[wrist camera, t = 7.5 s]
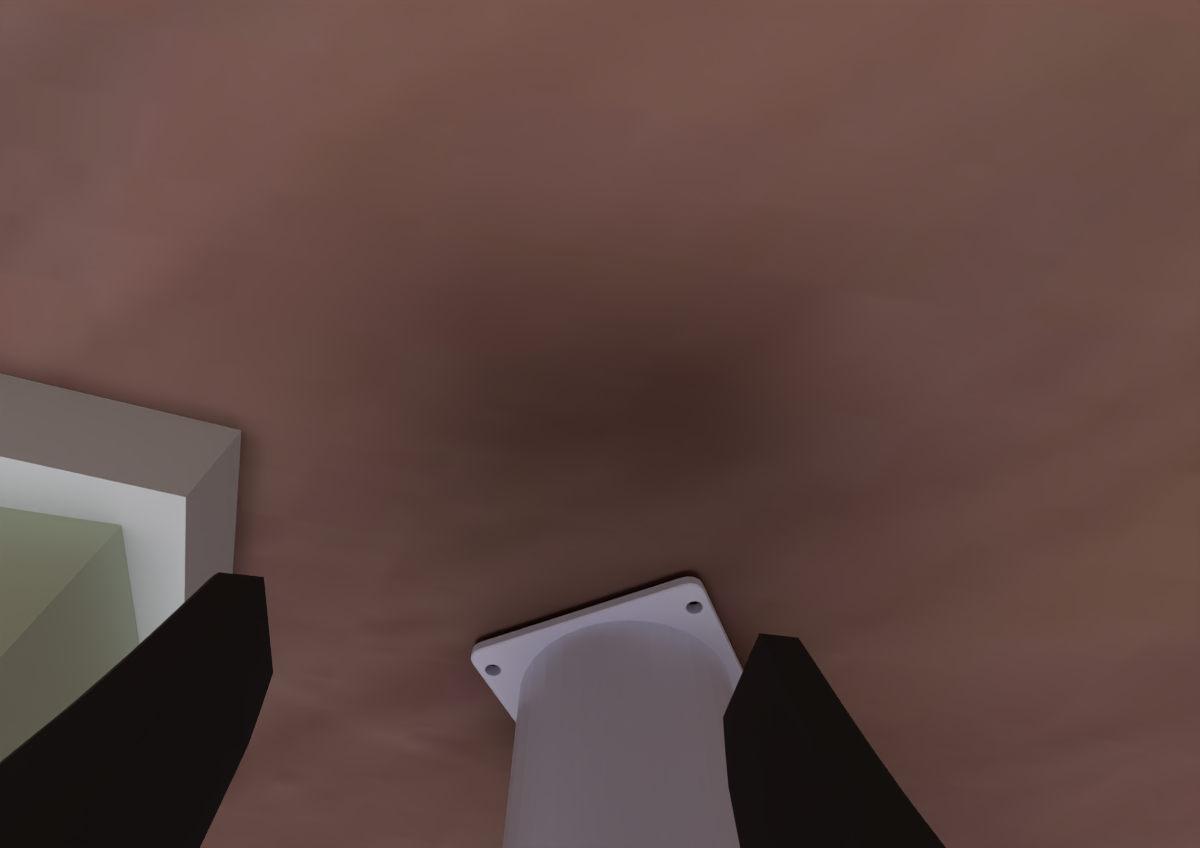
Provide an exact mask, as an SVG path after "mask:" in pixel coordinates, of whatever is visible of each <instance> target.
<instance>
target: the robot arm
mask: <svg viewBox="0 0 1200 848" xmlns="http://www.w3.org/2000/svg"><path fill="white" fill-rule="evenodd" d="M693 601H697V602H699V603H697V604H694V605H690V604H688V603H690V602H693ZM471 661H472V663H473V665H474V666H475V668H476V669H477V670H478V672H479V673H480V674H481V676H482V677H483V679H484V680H485V681H486V683H487V684H488V685H489V687H490V688H491V689H492V691H493V692H494V694H495V695H496V696H497V698H498V699H499V700H500V702H501V703H502V705H503V706H504V707H505V709H506V710H507V711H508V713H509V714H510V716H511V717H512V718H513V720H514V721H515V722H516V729H515V738H514V747H513V756H512V765H511V774H510V783H509V792H508V801H507V810H506V819H505V829H504V838H503V847H502V848H946V847H945V846H944V845H943V843H942V842H941V841H940V840H939V838H938V837H937V836H936V834H935V833H934V832H933V831H932V829H931V828H930V827H929V825H928V824H927V823H926V822H925V820H924V819H923V818H922V816H921V815H920V814H919V812H918V811H917V810H916V808H915V807H914V806H913V804H912V803H911V802H910V800H909V799H908V798H907V796H906V795H905V794H904V792H903V791H902V789H901V788H900V787H899V785H898V784H897V782H896V781H895V780H894V778H893V777H892V775H891V774H890V773H889V771H888V770H887V768H886V767H885V766H884V764H883V763H882V761H881V760H880V759H879V757H878V756H877V754H876V753H875V751H874V750H873V749H872V747H871V746H870V744H869V743H868V741H867V740H866V739H865V737H864V736H863V734H862V733H861V731H860V730H859V728H858V727H857V725H856V724H855V722H854V721H853V719H852V718H851V716H850V715H849V713H848V712H847V710H846V709H845V707H844V706H843V705H842V703H841V702H840V700H839V699H838V697H837V695H836V694H835V692H834V691H833V689H832V688H831V686H830V685H829V683H828V682H827V680H826V679H825V677H824V676H823V674H822V673H821V671H820V670H819V668H818V667H817V665H816V664H815V662H814V661H813V659H812V658H811V656H810V655H809V653H808V652H807V650H806V649H805V647H804V646H803V644H802V643H801V641H800V640H799V638H795V637H786V636H778V635H769V634H760V633H759V635H758V638H757V640H756V642H755V645H754V647H753V649H752V651H751V654H750V656H749V658H748V661H747V663H746V665H745V667H744V670H743V669H742V667H741V664H740V662H739V660H738V658H737V656H736V654H735V652H734V649H733V647H732V645H731V643H730V641H729V639H728V637H727V634H726V632H725V630H724V628H723V626H722V624H721V622H720V619H719V617H718V615H717V613H716V611H715V609H714V607H713V604H712V602H711V600H710V598H709V596H708V594H707V592H706V590H705V587H704V585H703V583H702V582H701V581H700V580H699V579H697V578H695V577H690V576H687V577H682V578H679V579H675V580H672V581H669V582H666V583H663V584H660V585H657V586H654V587H650V588H647V589H644V590H641V591H638V592H635V593H632V594H629V595H626V596H622V597H619V598H616V599H613V600H610V601H607V602H604V603H601V604H597V605H594V606H591V607H588V608H585V609H582V610H579V611H576V612H572V613H569V614H566V615H563V616H560V617H557V618H554V619H551V620H547V621H544V622H541V623H538V624H535V625H532V626H529V627H526V628H523V629H519V630H516V631H513V632H510V633H507V634H504V635H501V636H498V637H494V638H491V639H488V640H485V641H482V642H479V643H477V644H476V645H475V646H474V647H473V649H472V654H471ZM491 665H497V666H491ZM272 674H273V667H272V657H271V647H270V636H269V626H268V616H267V605H266V595H265V585H264V577H257V576H248V575H240V574H231V573H222V572H218V573H216V574H215V575H213V576H212V577H210V578H209V579H208V580H207V581H206V582H205V583H204V584H203V585H202V586H201V587H200V588H199V589H198V590H197V591H196V592H195V593H194V594H193V595H192V596H191V597H189V598H188V599H187V600H186V601H185V602H184V603H183V604H182V605H181V606H180V607H179V608H178V609H177V610H176V611H175V612H174V613H173V614H171V615H170V616H169V617H168V618H167V619H166V620H165V621H164V622H163V623H162V624H161V625H160V626H159V627H158V628H156V629H155V630H154V631H153V632H152V633H151V634H150V635H149V636H148V637H147V638H146V639H144V640H143V641H142V642H141V643H140V644H139V645H138V646H137V647H136V648H135V649H134V650H132V651H131V652H130V653H129V654H128V655H127V656H126V657H125V658H123V659H122V660H121V661H120V662H119V663H118V664H117V665H115V666H114V667H113V668H112V669H111V670H110V671H109V672H107V673H106V674H105V675H104V676H103V677H102V678H101V679H99V680H98V681H97V682H96V683H95V684H94V685H93V686H92V687H90V688H89V689H88V690H87V691H86V692H85V693H84V694H82V695H81V696H80V697H79V698H78V699H77V700H75V701H74V702H73V703H72V704H71V705H70V706H68V707H67V708H66V709H65V710H64V711H62V712H61V713H60V714H59V715H58V716H56V717H55V718H54V719H53V720H51V721H50V722H49V723H48V724H46V725H45V726H44V727H43V728H41V729H40V730H39V731H38V732H37V733H35V734H34V735H33V736H32V737H30V738H29V739H28V740H27V741H25V742H24V743H23V744H22V745H20V746H19V747H18V748H17V749H16V750H14V751H13V752H12V753H11V754H9V755H8V756H7V757H6V758H4V759H3V760H2V761H1V762H0V848H200V846H201V844H202V842H203V840H204V838H205V835H206V833H207V831H208V829H209V827H210V825H211V823H212V821H213V819H214V817H215V814H216V812H217V810H218V808H219V806H220V804H221V802H222V800H223V798H224V795H225V793H226V791H227V789H228V787H229V785H230V783H231V781H232V778H233V776H234V774H235V772H236V770H237V768H238V766H239V763H240V761H241V759H242V757H243V755H244V753H245V750H246V748H247V746H248V744H249V741H250V738H251V735H252V733H253V730H254V727H255V724H256V721H257V719H258V716H259V713H260V710H261V707H262V704H263V701H264V698H265V695H266V692H267V689H268V686H269V683H270V680H271V677H272Z"/></svg>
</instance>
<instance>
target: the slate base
mask: <svg viewBox="0 0 1200 848" xmlns="http://www.w3.org/2000/svg"><path fill="white" fill-rule="evenodd" d="M240 446H241V430H238V429H234V428H230V427H225V426H221V425H217V424H213V423H208V422H204V421H200V420H196V419H191V418H187V417H183V416H179V415H175V414H170V413H166V412H162V411H158V410H153V409H149V408H145V407H141V406H136V405H132V404H128V403H124V402H119V401H115V400H111V399H107V398H102V397H98V396H94V395H90V394H85V393H81V392H77V391H73V390H68V389H64V388H60V387H56V386H51V385H47V384H43V383H39V382H35V381H30V380H26V379H22V378H18V377H13V376H9V375H5V374H1V373H0V507H5V508H12V509H18V510H25V511H32V512H38V513H45V514H51V515H58V516H64V517H71V518H77V519H84V520H90V521H97V522H103V523H110V524H116V525H122V532H123V539H124V546H125V552H126V559H127V566H128V573H129V579H130V586H131V593H132V599H133V606H134V613H135V620H136V626H137V633H138V640H139V644H140V643H141V642H142V641H143V640H144V639H146V638H147V637H148V636H149V635H150V634H151V633H152V632H153V631H154V630H155V629H156V628H158V627H159V626H160V625H161V624H162V623H163V622H164V621H165V620H166V619H167V618H168V617H169V616H170V615H171V614H173V613H174V612H175V611H176V610H177V609H178V608H179V607H180V606H181V605H182V604H183V603H184V602H185V601H186V600H187V599H188V598H189V597H191V596H192V595H193V594H194V593H195V592H196V591H197V590H198V589H199V588H200V587H201V586H202V585H203V584H204V583H205V582H206V581H207V580H208V579H209V578H210V577H212V576H213V575H215V574H216V573H218V572H222V573H231V574H233V562H234V545H235V529H236V512H237V496H238V479H239V463H240Z"/></svg>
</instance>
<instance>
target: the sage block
mask: <svg viewBox="0 0 1200 848" xmlns="http://www.w3.org/2000/svg"><path fill="white" fill-rule="evenodd" d="M138 645H139V640H138V633H137V626H136V620H135V613H134V606H133V599H132V593H131V586H130V579H129V573H128V566H127V559H126V552H125V546H124V539H123V532H122V525H116V524H110V523H103V522H97V521H90V520H84V519H77V518H71V517H64V516H58V515H51V514H45V513H38V512H32V511H25V510H18V509H12V508H5V507H0V762H1V761H2V760H3V759H4V758H6V757H7V756H8V755H9V754H11V753H12V752H13V751H14V750H16V749H17V748H18V747H19V746H20V745H22V744H23V743H24V742H25V741H27V740H28V739H29V738H30V737H32V736H33V735H34V734H35V733H37V732H38V731H39V730H40V729H41V728H43V727H44V726H45V725H46V724H48V723H49V722H50V721H51V720H53V719H54V718H55V717H56V716H58V715H59V714H60V713H61V712H62V711H64V710H65V709H66V708H67V707H68V706H70V705H71V704H72V703H73V702H74V701H75V700H77V699H78V698H79V697H80V696H81V695H82V694H84V693H85V692H86V691H87V690H88V689H89V688H90V687H92V686H93V685H94V684H95V683H96V682H97V681H98V680H99V679H101V678H102V677H103V676H104V675H105V674H106V673H107V672H109V671H110V670H111V669H112V668H113V667H114V666H115V665H117V664H118V663H119V662H120V661H121V660H122V659H123V658H125V657H126V656H127V655H128V654H129V653H130V652H131V651H132V650H134V649H135V648H136V647H137V646H138Z"/></svg>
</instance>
